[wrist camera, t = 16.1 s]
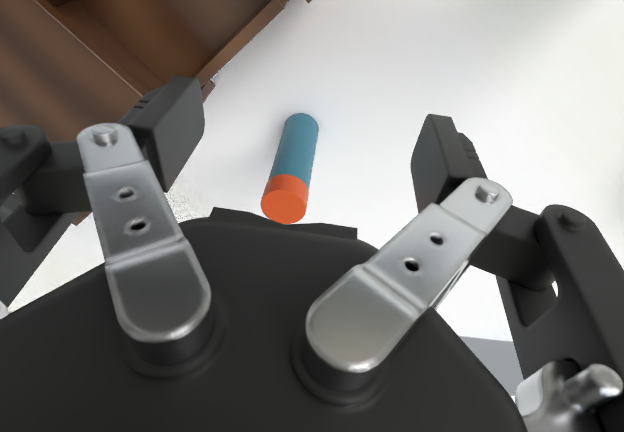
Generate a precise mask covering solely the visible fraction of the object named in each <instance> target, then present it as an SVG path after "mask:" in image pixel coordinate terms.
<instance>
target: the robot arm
mask: <svg viewBox="0 0 624 432" xmlns="http://www.w3.org/2000/svg"><path fill="white" fill-rule="evenodd" d="M204 126H205V120H204V111H203V102H202V93H201V85H200V82H199V80H198V79H197V78H191V77H185V76H178V75H175V76H173V77H172V78H171V79H170V80H169V82H168V83H167V84H166V85H165V86H164V87H163V88H162V87H159V88H156V89H154V90H152V91H150V92H147V93H146V94H145V95H144V96H143V97H142V98H141V99H140V101H139V102H137V103H136V104H135V105H134V106H133V108H131V109H130V110H129V111H128V112H127V113H126V114H125V115H124V116H123V117H122V118H121V119H120V120H119V121H118V122H117V123H102V124H96V125H93V126H90V127H88V128H86V129H84V130H82V131H81V132H80V133H79V134H78V136H77V141H59V142H49V140H48V138H47V136H46V134H45V132H44V130H43V129H42V128H40V127H38V126H34V125H12V126H7V127H3V128H0V208H1V205H2V204H3V202H4V201H5V200H6V199H7V198H8V197H9V196H10V195H11V194H12V193H14V194H15V196H16V197H17V199H18V200H19V202H20V205H19V206H18V207H17V208H16V209H15V210H14V211H13V212H12V213H11V214H10V215H9V216H8V217H7V218H6V220H5V221H4V222H2V221H1V218H0V432H624V270H623V269H622V267H621V265H620V264H619V262H618V260H617V259H616V257H615V255H614V254H613V252H612V251H611V249H610V247H609V246H608V244H607V242H606V241H605V239H604V237H603V236H602V234H601V233H600V231H599V229H598V228H597V226H596V225H595V223H594V222H593V221H592V220H591V219H589V218H588V217H587V216H586V215H584V214H583V213H581V212H579V211H577V210H575V209H573V208H570V207H567V206H563V205H549V206H547V207H545V209H544V210H543V211H542V213H541V214H540V215H537V214H534V213H532V212H529V211H526V210H523V209H520V208H518V207H515V206H513V205H512V202H513V200H512V196H511V195H510V193H509V192H508V191H507V190H506V189H505V188H504V187H502V186H501V185H499V184H498V183H496V182H494V181H491V180H488V178H487V176H486V174H485V171H484V169H483V167H482V164H481V162H480V160H479V157H478V155H477V153H475V152H476V150H475V148H474V146H473V143H472V142H471V141H470V140H469V139H468V138H467V137H466V136H465V135H464V134H463V133H458V132H457V131H456V128H455V126H454V123H453V120H452V118H451V117H447V116H441V115H434V114H428V115H427V117H426V119H425V121H424V124H423V126H422V129H421V132H420V135H419V137H418V140H417V143H416V145H415V148H414V151H413V154H412V158H411V173H412V179H413V185H414V190H415V196H416V202H417V207H418V213H419V214H418V215H417V216H416V217H415V218H414V219H413V220H412V221H411V222H409V223H408V224H407V225H406V226H405V227H404V228H403V229H402V230H401V231H399V232H398V233H397V234H396V235H395V236H394V237H393V238H392V239H391V240H390V241H388V242H387V243H386V244H385V245H384V246H383V247H382V248H381V249H380V250H378V249H377V248H375V247H373V246H372V245H370V244H368V243H366V242H364V241H361V240H359V239H357V228H352V227H345V226H338V225H332V224H325V223H311V224H281V223H278V222H275V221H273V220H270V219H267V218H264V217H261V216H258V215H256V214H253V213H250V212H244V211H238V210H231V209H224V208H218V207H214V208H213V210H212V212H211V214H210V217H204V218H196V219H192V220H187V221H184V222H181V223H177V220H176V218H175V216H174V214H173V212H172V210H171V208H170V205H169V203H168V201H167V199H166V197H165V195H164V193H163V192H165V193H167V192H168V191H169V189H170V188H171V186H172V184H173V183H174V181H175V180H176V178H177V176H178V175H179V173H180V171H181V170H182V168H183V167H184V165H185V163H186V162H187V160H188V159H189V157H190V155H191V154H192V152H193V151H194V149H195V147H196V146H197V144H198V143H199V141H200V139H201V138H202V136H203V133H204ZM86 211H92V212H93V216H94V220H95V224H96V228H97V232H98V236H99V239H100V243H101V247H102V251H103V255H104V259H105V262H104V263H102V264H101V265H99V266H97V267H95V268H93V269H91V270H89V271H88V272H86V273H84V274H82V275H80V276H78V277H77V278H75V279H73V280H71V281H69V282H67V283H66V284H64V285H62V286H60V287H58V288H56V289H54V290H53V291H51V292H49V293H47V294H45V295H43V296H42V297H40V298H38V299H36V300H34V301H32V302H30V303H29V304H27V305H25V306H23V307H21V308H19V309H18V310H16V311H14V312H12V313H10V314H9V315H8V309H7V308H8V307H9V305H10V304H11V303H12V301H13V300H14V299H15V297H16V296H17V295H18V293H19V292H20V291H21V289H22V288H23V287H24V285H25V284H26V283H27V281H28V280H29V279H30V277H31V276H32V275H33V273H34V272H35V271H36V269H37V268H38V267H39V265H40V264H41V263H42V261H43V260H44V259H45V257H46V256H47V255H48V253H49V252H50V251H51V249H52V248H53V247H54V245H55V244H56V243H57V241H58V240H59V239H60V238H61V236H62V235H63V234H64V232H65V231H66V230H67V228H68V227H69V226H70V224H71V223H72V222H73V220H74V219H75V218H76V216H77V215H78V213H79V212H86ZM470 265H472V266H474V267H477V268H479V269H482V270H484V271H487V272H489V273H492V274H494V275H496V280H497V283H498V287H499V291H500V294H501V298H502V302H503V305H504V309H505V313H506V316H507V320H508V324H509V327H510V331H511V335H512V338H513V342H514V346H515V349H516V353H517V357H518V360H519V364H520V367H521V371H522V375H523V378H524V381H523V382H522V383H520V384H519V386H518V387H517V389H516V392H515V403H514V401H513V400H512V398H511V397H510V395H509V394H508V392H507V391H506V390H505V389H504V387H503V386H502V385H501V384H500V383H499V382H498V380H497V379H496V378H495V377H494V376H493V375H492V374H491V373H490V371H489V370H488V369H487V368H486V367H485V366H484V365H483V363H482V362H481V361H480V360H479V359H478V358H477V357H476V356H475V355H474V353H473V352H472V351H471V350H470V349H469V348H468V347H467V346H466V344H465V343H464V342H463V341H462V340H461V339H460V338H459V336H458V335H457V334H456V333H455V332H454V331H453V330H452V328H451V327H450V326H449V325H448V324H447V323H446V322H445V320H444V319H443V318H442V317H441V316H440V315H439V314H438V313H437V311H436V310H437V308H438V307H439V305H440V304H441V303H442V301H443V300H444V299H445V297H446V296H447V295H448V293H449V292H450V291H451V290H452V288H453V287H454V286H455V284H456V283H457V282H458V281H459V279H460V278H461V277H462V275H463V274H464V273H465V272H466V270H467V269H468V268H469V266H470ZM554 281H556V283H557V286H558V296H556V294H555V292H554V289H553V287H552V283H553V282H554Z"/></svg>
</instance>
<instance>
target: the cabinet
mask: <svg viewBox="0 0 624 432" xmlns="http://www.w3.org/2000/svg"><path fill="white" fill-rule="evenodd" d="M214 87H215V85H214V84H213V83H212V82H211V81H210V80H208V81H207V82H206V83H205V84H204V85H203V86H202V87H201V93H202V102H204V101H205V100H206V98H207V97H208V95H209V94H210V93H211V91H212V90H213V88H214ZM146 93H147V92H146V91H145V90H144V89H143V88H142V87H141V86H140V85H139V84H138V83H136V82H135V81H134V80H133V79H132V78H131V77H130V76H129V75H128V74H127V73H125V72H124V71H123V70H122V69H121V68H120V67H119V66H118V65H117V64H115V63H114V62H113V61H112V60H111V59H110V58H109V57H108V56H107V55H106V54H104V53H103V52H102V51H101V50H100V49H99V48H98V47H97V46H96V45H94V44H93V43H92V42H91V41H90V40H89V39H88V38H87V37H86V36H85V35H83V34H82V33H81V32H80V31H79V30H78V29H77V28H76V27H75V26H73V25H72V24H71V23H70V22H69V21H68V20H67V19H66V18H65V17H64V16H62V15H61V14H60V13H59V12H58V11H57V10H56V9H55V8H54V7H53V6H51V5H50V4H49V3H48V2H47V1H46V0H0V128H3V127H7V126H12V125H34V126H38V127H40V128H42V129H43V130H44V132H45V134H46V136H47V138H48V140H49V142H59V141H77V136H78V134H79V133H80V132H81V131H82V130H84V129H86V128H88V127H90V126H93V125H96V124H102V123H117V122H118V121H119V120H120V119H121V118H122V117H123V116H124V115H125V114H126V113H127V112H128V111H129V110H130V109H131V108H133V106H134V105H135V104H136V103H137V102H139V101H140V99H141V98H142V97H143V96H144V95H145V94H146ZM90 213H92V211H86V212H79V213H78V215H77V216H76V218H75V219H74V220H73V222H72V224H74V225H75V226H77V225H78V224H79V223H80V222H81V221H83V220H84V219H85V218H86V217H87V216H88V215H89V214H90Z"/></svg>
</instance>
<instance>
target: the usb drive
mask: <svg viewBox="0 0 624 432" xmlns="http://www.w3.org/2000/svg"><path fill="white" fill-rule="evenodd" d="M19 205H20V202H19V200H18V199H17V197H16V196H15V195H14V194H11V195H10V196H9V197H8V198H7V199H6V200H5V201H4V202H3V204H2V205H1V208H0V218H1V221H2V222H4V221H5V220H6V218H7V217H8V216H9V215H10V214H11V213H12V212H13V211H14V210H15V209H16V208H17V207H18V206H19Z"/></svg>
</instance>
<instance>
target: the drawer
mask: <svg viewBox="0 0 624 432" xmlns="http://www.w3.org/2000/svg"><path fill="white" fill-rule="evenodd" d="M46 1H47V2H48V3H49V4H50V5H51V6H53V7H54V8H55V9H56V10H57V11H58V12H59V13H60V14H61V15H62V16H64V17H65V18H66V19H67V20H68V21H69V22H70V23H71V24H72V25H73V26H75V27H76V28H77V29H78V30H79V31H80V32H81V33H82V34H83V35H85V36H86V37H87V38H88V39H89V40H90V41H91V42H92V43H93V44H94V45H96V46H97V47H98V48H99V49H100V50H101V51H102V52H103V53H104V54H106V55H107V56H108V57H109V58H110V59H111V60H112V61H113V62H114V63H115V64H117V65H118V66H119V67H120V68H121V69H122V70H123V71H124V72H125V73H127V74H128V75H129V76H130V77H131V78H132V79H133V80H134V81H135V82H136V83H138V84H139V85H140V86H141V87H142V88H143V89H144V90H145V91H146V92H150V91H152V90H154V89H156V88H159V87H162V88H163V87H164V86H165V85H166V84H167V83H168V82H169V80H170V79H171V78H172V77H173V76H175V75H178V76H185V77H191V78H197V79H198V80H199V82H200V85H201V87H202V86H203V85H204V84H205V83H206V82H207V81H208V80H209V79H210V78H211V77H212V76H213V75H215V74H216V73H217V72H218V71H219V70H220V69H221V68H222V67H223V66H224V65H225V64H226V63H227V62H228V61H229V60H230V59H231V58H232V57H234V56H235V55H236V54H237V53H238V52H239V51H240V50H241V49H242V48H243V47H244V46H245V45H246V44H247V43H248V42H249V41H250V40H251V39H252V38H254V37H255V36H256V35H257V34H258V33H259V32H260V31H261V30H262V29H263V28H264V27H265V26H266V25H267V24H268V23H269V22H270V21H271V20H273V19H274V18H275V17H276V16H277V15H278V14H279V13H280V12H281V11H282V10H283V9H284V8H285V7H286V5H287V3H288V1H289V0H46ZM306 1H307V2H308V3H310V2H311V1H312V0H306Z"/></svg>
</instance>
